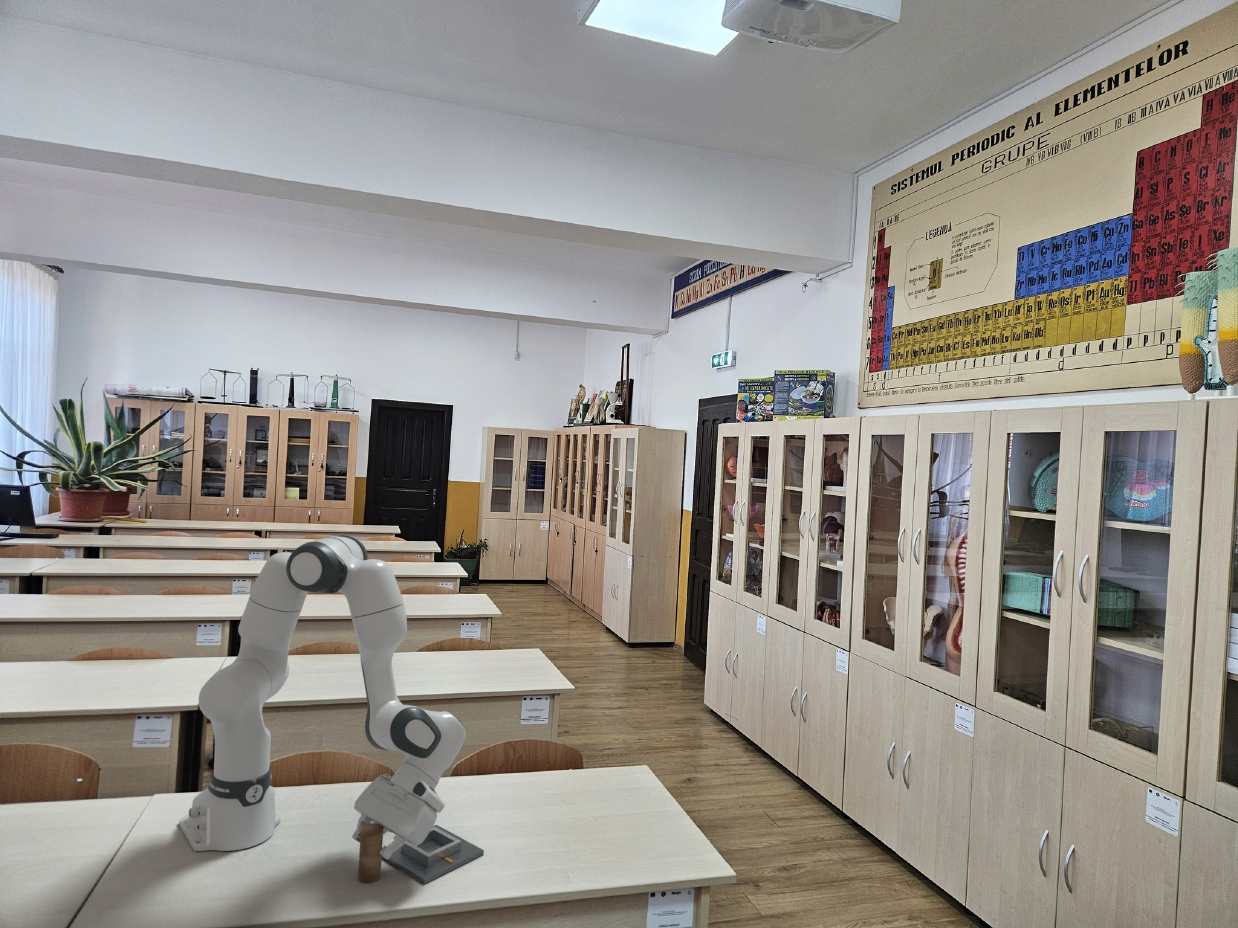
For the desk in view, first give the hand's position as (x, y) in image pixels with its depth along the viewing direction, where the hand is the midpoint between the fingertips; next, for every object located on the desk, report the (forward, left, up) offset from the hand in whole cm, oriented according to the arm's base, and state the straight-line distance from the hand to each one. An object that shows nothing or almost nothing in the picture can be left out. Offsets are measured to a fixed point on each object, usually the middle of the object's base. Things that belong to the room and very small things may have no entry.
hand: (369, 848), depth 158 cm
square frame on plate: (+2, +14, -6) cm, 16 cm away
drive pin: (0, 0, -6) cm, 6 cm away
